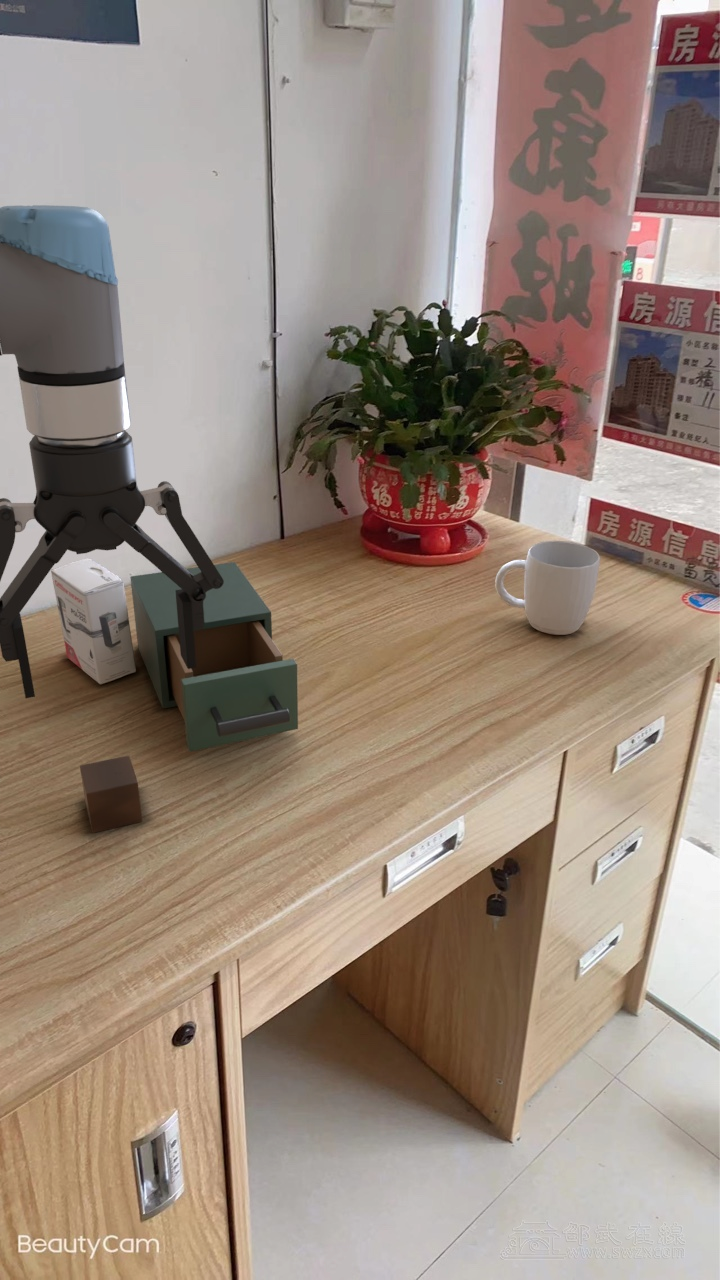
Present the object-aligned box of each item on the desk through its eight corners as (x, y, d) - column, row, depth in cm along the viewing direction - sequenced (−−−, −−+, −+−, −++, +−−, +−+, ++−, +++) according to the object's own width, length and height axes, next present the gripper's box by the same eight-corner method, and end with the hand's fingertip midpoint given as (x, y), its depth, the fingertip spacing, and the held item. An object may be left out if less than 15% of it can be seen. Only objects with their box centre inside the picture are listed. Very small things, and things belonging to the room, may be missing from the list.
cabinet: (273, 687, 100) (271, 611, 96) (162, 708, 96) (154, 630, 91) (238, 631, 112) (234, 561, 107) (138, 648, 108) (130, 576, 103)
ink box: (63, 658, 105) (48, 566, 99) (101, 645, 108) (89, 555, 102) (98, 687, 99) (85, 592, 94) (138, 672, 102) (127, 579, 97)
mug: (592, 615, 118) (603, 545, 113) (585, 645, 111) (597, 572, 106) (498, 600, 121) (505, 532, 117) (485, 629, 114) (492, 557, 109)
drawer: (312, 751, 88) (311, 684, 84) (199, 776, 84) (193, 707, 80) (259, 667, 102) (257, 607, 98) (161, 686, 98) (155, 623, 94)
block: (92, 833, 78) (86, 793, 76) (85, 803, 81) (79, 765, 79) (142, 821, 79) (137, 782, 77) (133, 793, 83) (129, 754, 81)
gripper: (227, 409, 74) (237, 632, 84) (-101, 434, 65) (-46, 680, 75) (253, 431, 68) (261, 669, 78) (-104, 462, 59) (-43, 726, 69)
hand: (111, 675), depth 77 cm, fingers open, 13 cm apart
